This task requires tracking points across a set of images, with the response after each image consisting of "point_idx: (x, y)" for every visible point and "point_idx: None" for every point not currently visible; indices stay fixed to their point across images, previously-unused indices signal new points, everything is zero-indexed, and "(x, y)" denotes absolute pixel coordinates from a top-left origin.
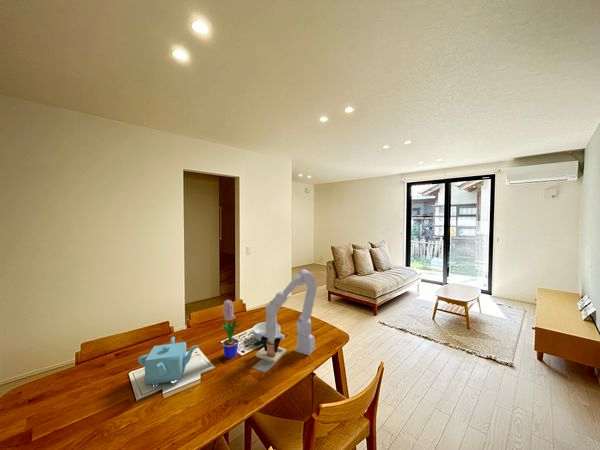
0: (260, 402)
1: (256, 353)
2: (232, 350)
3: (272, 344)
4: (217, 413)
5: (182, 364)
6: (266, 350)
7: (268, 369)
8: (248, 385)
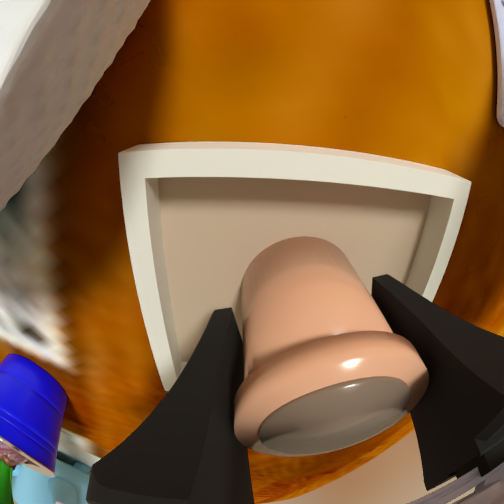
0: (370, 459)
1: (167, 388)
2: (57, 445)
3: (375, 434)
4: (276, 490)
5: (77, 496)
6: (242, 344)
7: None
8: (300, 461)
